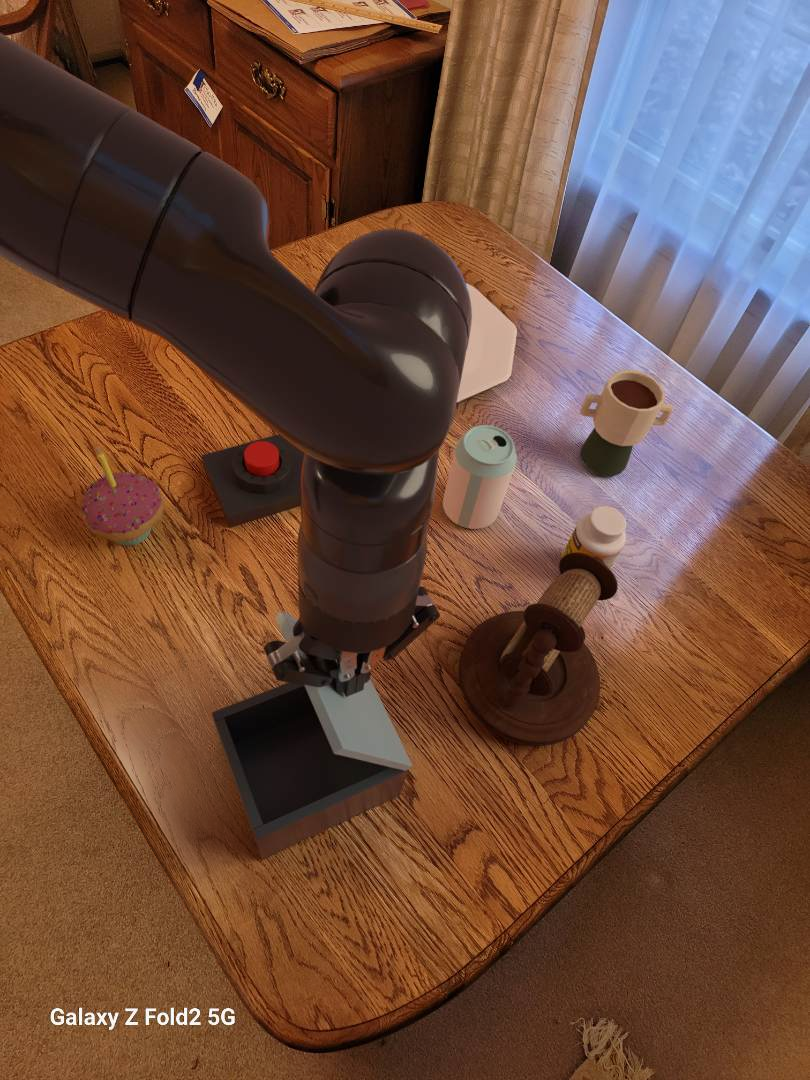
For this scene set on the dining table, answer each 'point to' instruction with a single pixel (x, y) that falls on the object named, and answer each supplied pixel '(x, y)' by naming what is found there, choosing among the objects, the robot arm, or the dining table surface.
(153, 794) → the dining table surface
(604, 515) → the supplement bottle
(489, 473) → the can
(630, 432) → the trophy cup
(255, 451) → the button
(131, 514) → the cupcake
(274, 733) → the open box
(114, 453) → the dining table surface
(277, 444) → the button block
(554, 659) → the wooden spool stand
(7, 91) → the robot arm
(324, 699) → the grey-topped wooden block
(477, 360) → the plate
